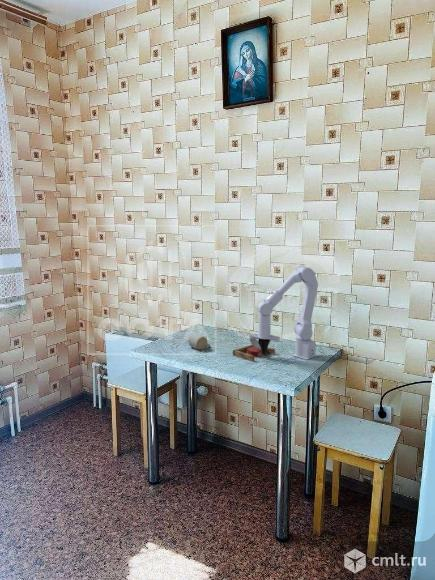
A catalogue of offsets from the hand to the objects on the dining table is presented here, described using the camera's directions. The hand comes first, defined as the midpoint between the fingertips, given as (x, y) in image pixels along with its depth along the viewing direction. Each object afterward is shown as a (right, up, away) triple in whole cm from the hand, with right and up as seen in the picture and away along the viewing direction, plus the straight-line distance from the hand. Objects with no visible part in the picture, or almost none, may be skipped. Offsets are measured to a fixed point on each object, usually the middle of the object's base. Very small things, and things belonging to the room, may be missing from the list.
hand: (264, 354), depth 213 cm
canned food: (-3, -1, +6) cm, 7 cm away
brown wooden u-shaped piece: (-4, -1, +5) cm, 6 cm away
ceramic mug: (-32, +1, +17) cm, 36 cm away
